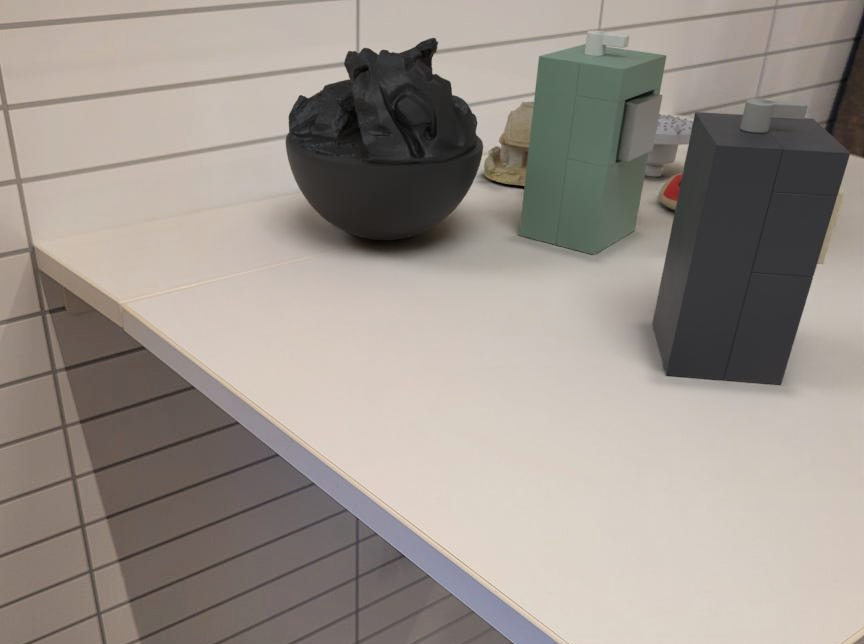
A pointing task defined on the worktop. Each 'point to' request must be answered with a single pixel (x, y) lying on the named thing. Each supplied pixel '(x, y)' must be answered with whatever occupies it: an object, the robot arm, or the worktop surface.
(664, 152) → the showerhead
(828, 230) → the lotion plate
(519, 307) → the worktop surface
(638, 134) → the plate
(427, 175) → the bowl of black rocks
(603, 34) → the soap dispenser
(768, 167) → the lotion dispenser
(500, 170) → the ceramic model
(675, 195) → the red and beige wedge
